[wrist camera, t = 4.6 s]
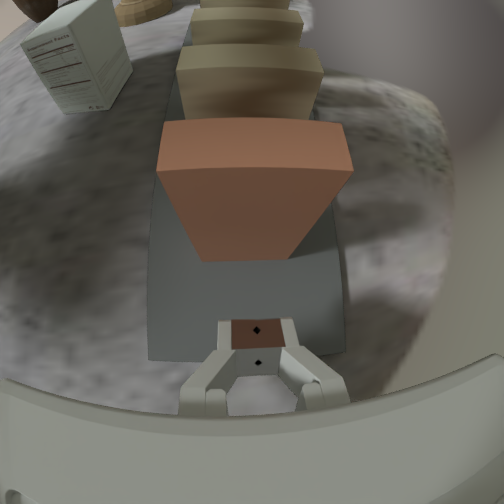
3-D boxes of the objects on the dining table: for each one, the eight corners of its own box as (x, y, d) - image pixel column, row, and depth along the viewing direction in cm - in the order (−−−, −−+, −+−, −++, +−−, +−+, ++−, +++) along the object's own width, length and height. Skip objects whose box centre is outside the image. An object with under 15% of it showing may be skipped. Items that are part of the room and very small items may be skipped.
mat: (151, 358, 18) (148, 360, 17) (192, 21, 29) (191, 17, 28) (341, 351, 19) (345, 352, 18) (284, 21, 30) (284, 17, 29)
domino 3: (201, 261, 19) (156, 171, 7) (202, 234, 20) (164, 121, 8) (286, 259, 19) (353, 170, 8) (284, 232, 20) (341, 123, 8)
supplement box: (89, 76, 25) (59, 7, 13) (135, 70, 25) (111, -11, 13) (62, 116, 23) (17, 44, 11) (109, 112, 23) (68, 22, 11)
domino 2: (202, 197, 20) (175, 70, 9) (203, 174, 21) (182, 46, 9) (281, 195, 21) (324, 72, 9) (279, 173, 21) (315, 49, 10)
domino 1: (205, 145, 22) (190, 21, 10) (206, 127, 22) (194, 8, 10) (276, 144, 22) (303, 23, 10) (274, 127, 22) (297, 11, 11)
